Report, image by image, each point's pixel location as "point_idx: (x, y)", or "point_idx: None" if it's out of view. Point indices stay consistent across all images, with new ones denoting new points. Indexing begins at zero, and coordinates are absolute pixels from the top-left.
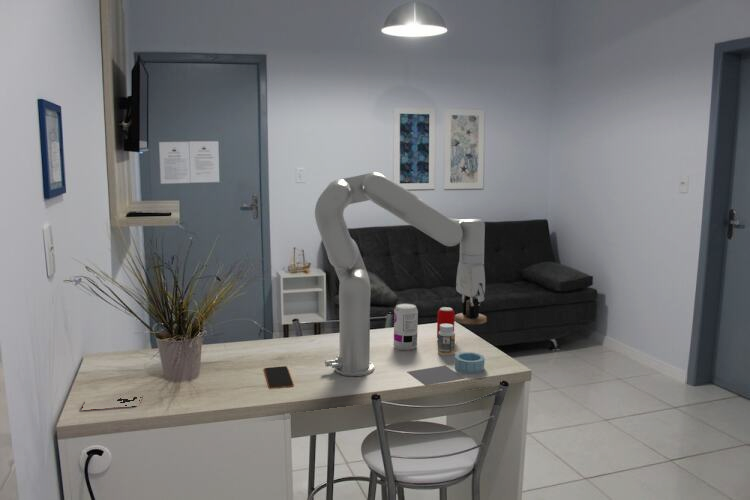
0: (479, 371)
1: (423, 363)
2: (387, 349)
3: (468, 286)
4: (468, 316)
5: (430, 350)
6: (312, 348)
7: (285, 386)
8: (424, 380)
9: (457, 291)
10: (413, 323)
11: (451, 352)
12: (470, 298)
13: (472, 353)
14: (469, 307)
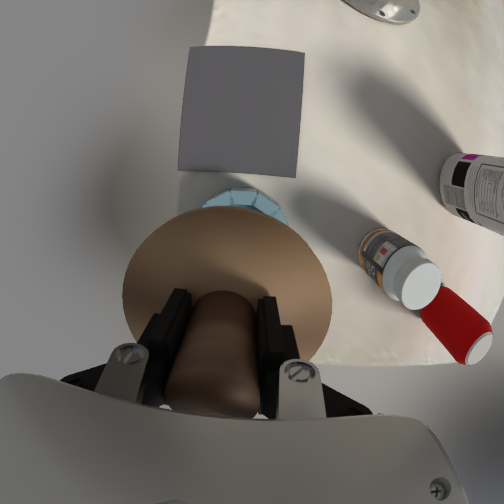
0: None
1: (347, 138)
2: (463, 135)
3: (4, 495)
4: (205, 298)
5: (414, 226)
6: (493, 33)
7: None
8: (220, 58)
9: (385, 415)
10: (489, 198)
11: (360, 255)
12: (133, 401)
13: None
14: (161, 331)
